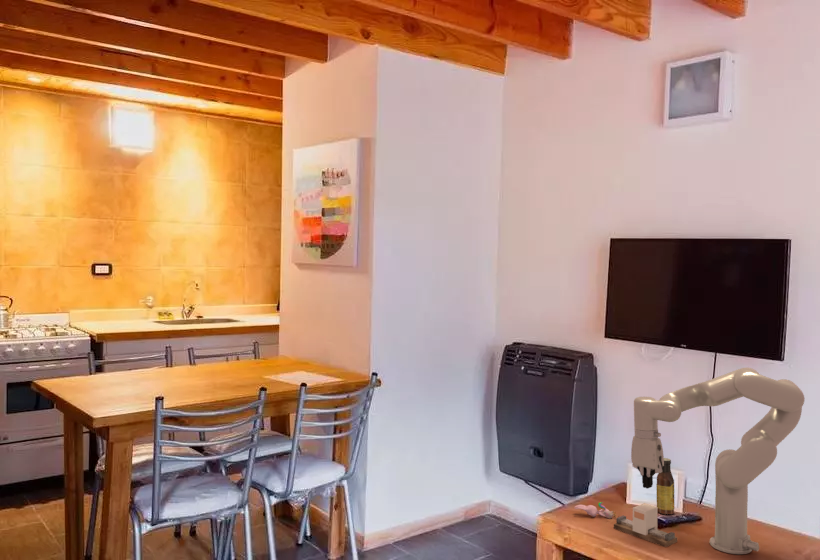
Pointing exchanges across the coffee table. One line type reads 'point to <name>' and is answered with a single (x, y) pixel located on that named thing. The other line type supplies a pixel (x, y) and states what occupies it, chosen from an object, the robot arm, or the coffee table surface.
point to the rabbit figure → (593, 510)
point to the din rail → (651, 531)
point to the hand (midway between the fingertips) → (647, 487)
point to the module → (644, 518)
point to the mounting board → (646, 537)
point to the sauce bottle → (665, 489)
